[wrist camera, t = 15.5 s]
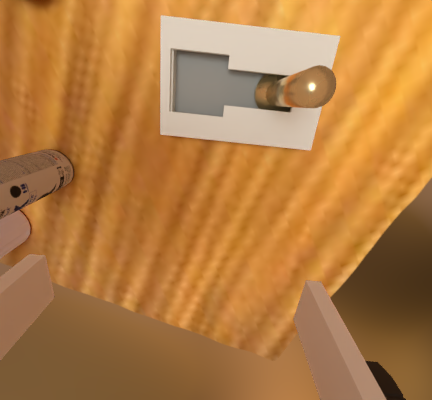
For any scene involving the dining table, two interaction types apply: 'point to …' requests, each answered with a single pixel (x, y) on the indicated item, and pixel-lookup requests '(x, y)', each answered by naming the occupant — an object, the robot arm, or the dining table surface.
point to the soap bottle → (13, 232)
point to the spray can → (32, 178)
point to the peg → (296, 89)
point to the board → (235, 81)
